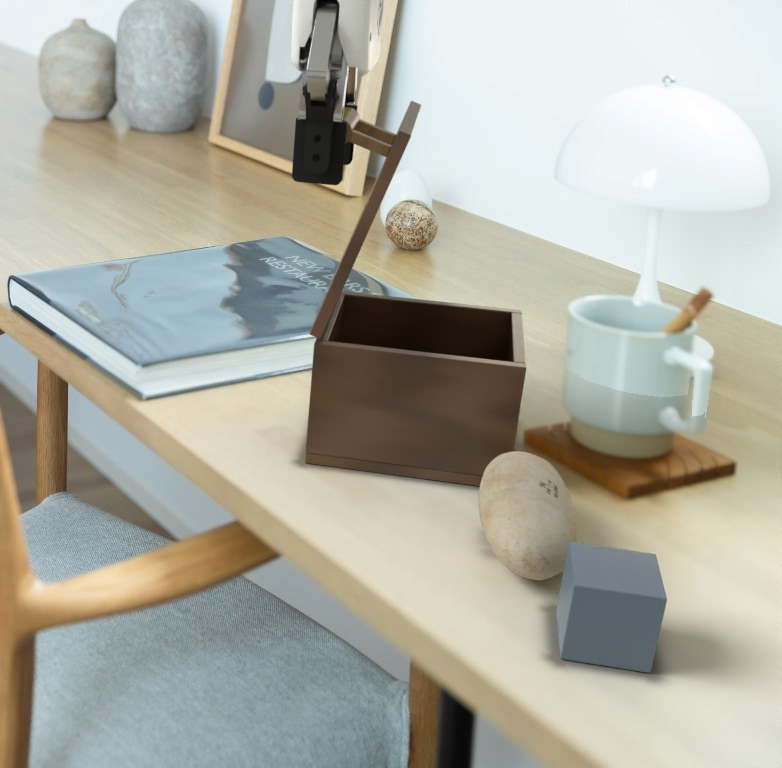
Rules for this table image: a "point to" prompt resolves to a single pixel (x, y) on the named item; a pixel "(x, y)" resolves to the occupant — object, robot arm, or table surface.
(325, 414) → the keepsake box
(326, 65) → the robot arm
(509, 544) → the stone
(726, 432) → the table surface
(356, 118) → the lid
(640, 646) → the block
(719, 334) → the table surface
